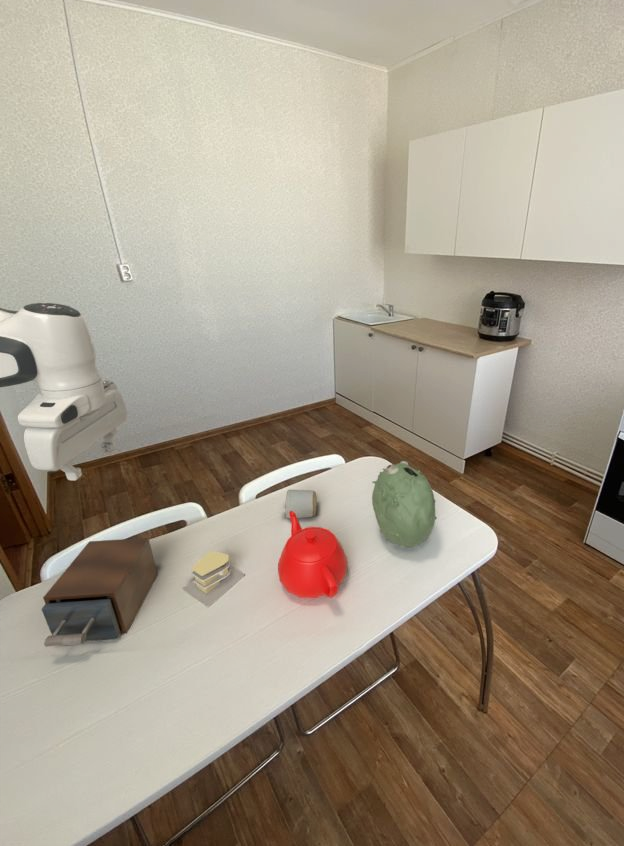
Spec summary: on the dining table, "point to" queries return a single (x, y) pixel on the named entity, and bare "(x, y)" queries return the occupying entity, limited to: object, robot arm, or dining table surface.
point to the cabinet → (110, 576)
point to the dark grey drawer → (81, 620)
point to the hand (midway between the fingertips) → (93, 463)
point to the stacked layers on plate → (212, 578)
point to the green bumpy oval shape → (403, 505)
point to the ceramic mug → (301, 503)
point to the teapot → (311, 562)
